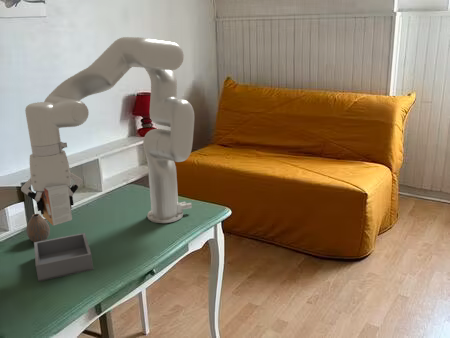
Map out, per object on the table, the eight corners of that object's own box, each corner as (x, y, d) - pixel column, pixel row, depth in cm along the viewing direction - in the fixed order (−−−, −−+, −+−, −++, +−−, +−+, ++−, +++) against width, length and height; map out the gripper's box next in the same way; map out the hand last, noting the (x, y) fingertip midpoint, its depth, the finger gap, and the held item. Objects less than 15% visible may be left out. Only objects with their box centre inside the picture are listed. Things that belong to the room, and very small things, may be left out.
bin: (86, 247, 143) (84, 232, 142) (93, 269, 131) (91, 254, 129) (36, 257, 138) (34, 242, 136) (38, 281, 125) (35, 265, 124)
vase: (43, 245, 145) (39, 220, 142) (23, 244, 146) (19, 219, 143) (55, 235, 151) (51, 211, 148) (36, 234, 153) (32, 210, 150)
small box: (42, 217, 131) (37, 182, 128) (62, 211, 134) (56, 177, 131) (53, 226, 125) (47, 190, 122) (72, 220, 128) (67, 185, 125)
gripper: (78, 141, 130) (86, 200, 135) (11, 149, 123) (22, 210, 129) (82, 148, 123) (89, 209, 129) (11, 157, 117) (23, 221, 122)
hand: (56, 209), depth 129 cm, fingers closed on small box, 6 cm apart
